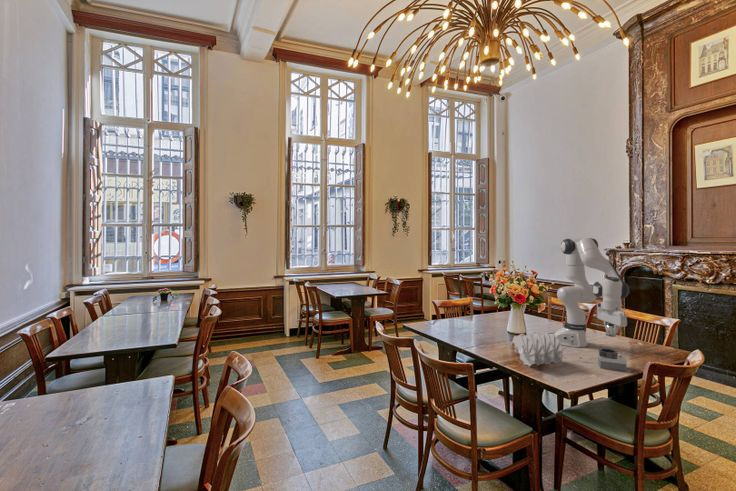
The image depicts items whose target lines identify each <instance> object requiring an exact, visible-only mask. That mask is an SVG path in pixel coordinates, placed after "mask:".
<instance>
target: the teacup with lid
mask: <svg viewBox="0 0 736 491" xmlns="http://www.w3.org/2000/svg"><path fill="white" fill-rule="evenodd" d="M520 334H521V335H522V336H524V335H525V334H524V333H520ZM515 336H516V335H515ZM517 336H518V335H517ZM517 336H516V337H517ZM510 347H511V348H512V349H513V350H514V352H515V354H518V355H520V354H519V352H518V347H517V346H516V345H515V344H514V343H513V341H511V343H510Z"/></svg>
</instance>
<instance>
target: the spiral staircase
mask: <svg viewBox="0 0 736 491" xmlns="http://www.w3.org/2000/svg"><path fill="white" fill-rule="evenodd" d="M521 334H522V333H520V334H519V335H517V337H516V335H514V336H513V338H512V340H511V342H513V345H514V346H515V345H516V346H517V347H518V352H519V354H518V355H519V359H520V360H521V362H523V365H527V366H528V367H530V368H531V367H532V365H536V366H537V367H539V366H540V365H544V364H548V365H550V364H551V363H555V364H556V365H557V364H559V362H562V361H563V359H564V353H563V352H564V348H563V345H561V343H560V341H559V340H558V339H557V338H556V337H555V335H554V334H552V333H549V331H547V332H545V333H539V332H536V333H535V334H534V335H533V334H532V333H530V334H528V335H526V334H524V336H522V335H521Z"/></svg>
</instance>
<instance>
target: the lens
mask: <svg viewBox="0 0 736 491" xmlns="http://www.w3.org/2000/svg"><path fill="white" fill-rule="evenodd" d="M613 329H614V324H611V323H608V322H606V329H605V336H606V337H612V338H617V333H614V332H613Z"/></svg>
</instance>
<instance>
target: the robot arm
mask: <svg viewBox="0 0 736 491" xmlns="http://www.w3.org/2000/svg"><path fill="white" fill-rule="evenodd" d="M560 250H561V252H562V253H563V254H564V255H566V256H565V271H566V273H565V275H566V278H567V279H568V280H570V281H571V282H572V284H573V285H574V286H573V285H572V286H568V285H567V286H562V287H559V288H558V290H557V292H556V297H557V299H558V301H560V302H561V303H562V304H563V305H564V307H565V310H566V321H564V320H563V321H562V326H563V327H561V328H559V329H558V330H556V331H555V333H554V334H553V335H555V337H556V338H557V339H558V340H559V341H560V343H561V346H565V347H566V346H567V347H570V348H571V347H572V348H582V347H583V348H584V347H587V346H588V341H587V336H586V333H587V323H586V320H587V319H586V315H587V314H586V312H585V310H584V309H582V308H581V307H580V306H579V304H580V303H581V304H582V303H584V304H585V303H591V302H595V301H596V300H597V298H601V299H602V301H601V302H597V303H596V307H597V309H596V317H597V319H598V320H600V321H603V325H604V329H605V330H606V322H608V323H611V324H614V329H613V332H614V333H616V334H618V331H619V328H622V327H623V328H624V327H627V326H628V320H627V319H628V318H627V313H626V311H624V309H622V300H623V299H625V298H627V297H628V295H630V287H629V285H628V283H626V282H625V281H624V280H623V278H622V277H621V275H620V274H619V272H618V271H617V269H616V268H615V266H614V265H613V263H612V261H611V260H609V259H607V258H605V257H604V255H602V253H601V252H600V249H599V242H598V241H597V239H595V238H592V237H575V238H565V239H563V240H562V241H561V243H560ZM585 267H588V268H591V269H595V270H598V271H601V272H603V273H605V274H606V275H607V276H605V277H604V279H602V280H599V281H595V282H594V283H593V285H591V284H590V283H589V282H588V279H587V277H586V270H585Z"/></svg>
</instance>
